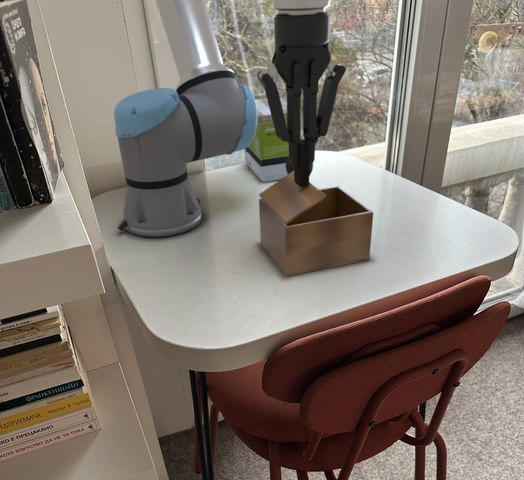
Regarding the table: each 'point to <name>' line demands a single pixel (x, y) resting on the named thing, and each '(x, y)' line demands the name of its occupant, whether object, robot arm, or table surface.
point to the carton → (318, 234)
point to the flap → (291, 198)
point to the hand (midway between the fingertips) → (301, 183)
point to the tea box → (268, 145)
